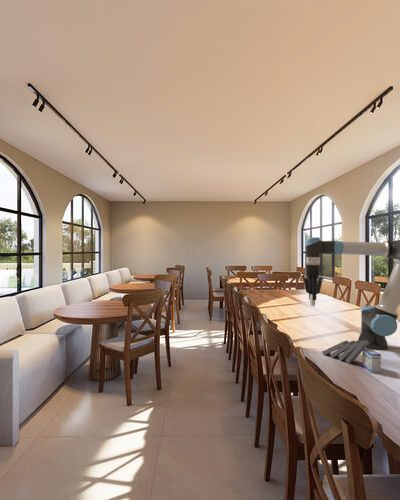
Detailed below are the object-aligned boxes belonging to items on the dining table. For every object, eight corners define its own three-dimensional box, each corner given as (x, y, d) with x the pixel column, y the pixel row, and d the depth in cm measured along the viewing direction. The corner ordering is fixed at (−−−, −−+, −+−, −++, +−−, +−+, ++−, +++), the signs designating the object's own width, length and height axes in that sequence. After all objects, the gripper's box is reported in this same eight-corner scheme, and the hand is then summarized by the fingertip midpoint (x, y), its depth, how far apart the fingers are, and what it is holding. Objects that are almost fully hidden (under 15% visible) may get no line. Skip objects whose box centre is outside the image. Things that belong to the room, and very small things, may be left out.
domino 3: (343, 355, 156) (361, 339, 148) (346, 359, 155) (363, 342, 147) (338, 357, 153) (355, 341, 146) (340, 360, 152) (358, 344, 145)
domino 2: (335, 352, 160) (354, 340, 151) (337, 356, 159) (356, 343, 150) (329, 354, 157) (348, 342, 148) (331, 357, 156) (351, 345, 147)
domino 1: (327, 350, 164) (347, 340, 154) (329, 353, 163) (349, 343, 154) (321, 351, 161) (341, 342, 152) (323, 355, 160) (343, 345, 151)
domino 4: (350, 358, 153) (366, 339, 146) (353, 361, 152) (369, 342, 145) (345, 360, 150) (360, 341, 143) (348, 363, 149) (363, 344, 142)
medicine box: (361, 366, 146) (361, 348, 145) (370, 366, 146) (370, 348, 146) (371, 372, 138) (371, 354, 138) (381, 372, 138) (381, 354, 138)
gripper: (299, 264, 175) (298, 304, 175) (318, 265, 164) (318, 308, 164) (307, 263, 179) (307, 303, 179) (327, 264, 168) (326, 306, 168)
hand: (312, 305), depth 171 cm, fingers closed
